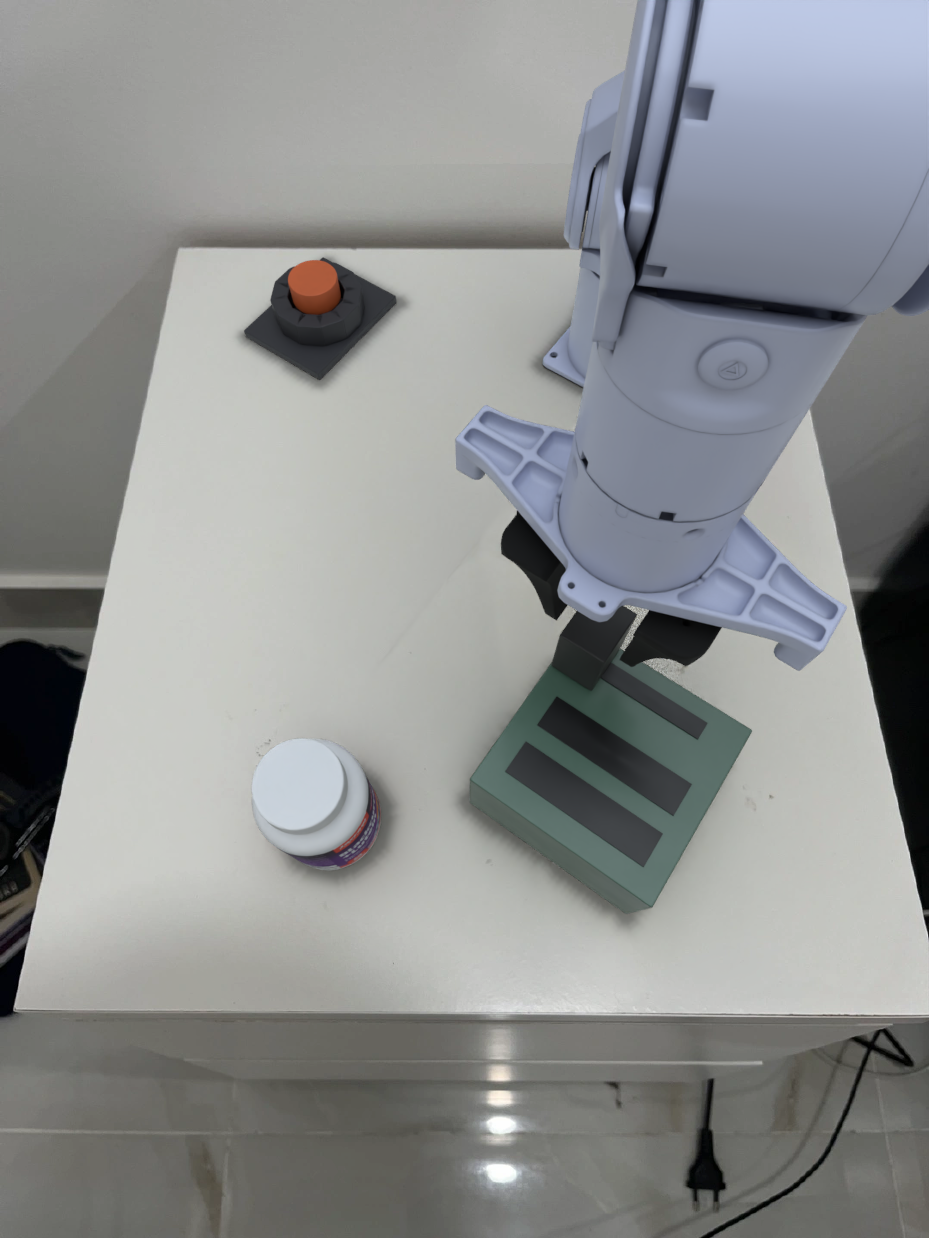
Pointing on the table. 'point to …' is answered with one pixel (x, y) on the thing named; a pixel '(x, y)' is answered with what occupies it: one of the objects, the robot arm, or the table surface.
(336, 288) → the button
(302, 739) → the pill bottle
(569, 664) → the toaster slider
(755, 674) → the table surface
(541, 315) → the table surface
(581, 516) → the robot arm
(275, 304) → the control pad
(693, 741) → the toaster
